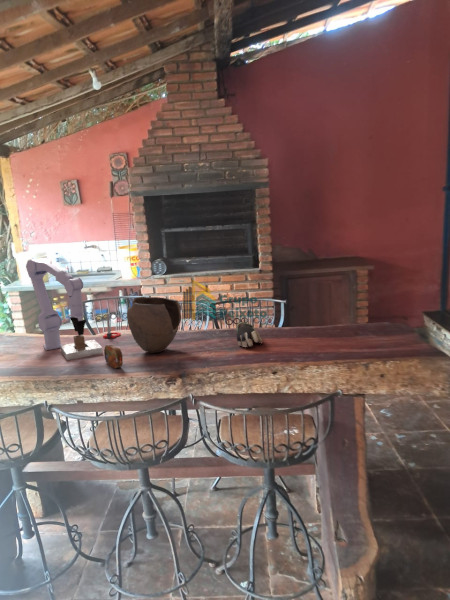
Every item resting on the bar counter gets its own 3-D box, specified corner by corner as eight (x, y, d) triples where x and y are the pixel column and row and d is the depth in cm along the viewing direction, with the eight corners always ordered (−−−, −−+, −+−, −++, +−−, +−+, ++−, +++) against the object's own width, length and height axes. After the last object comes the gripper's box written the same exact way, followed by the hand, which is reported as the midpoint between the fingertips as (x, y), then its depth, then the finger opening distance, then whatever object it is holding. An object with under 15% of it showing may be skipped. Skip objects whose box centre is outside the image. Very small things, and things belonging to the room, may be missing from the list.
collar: (61, 351, 216) (60, 345, 215) (94, 345, 223) (94, 339, 222) (67, 360, 202) (66, 353, 201) (102, 353, 209) (102, 347, 209)
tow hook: (108, 334, 244) (101, 338, 235) (106, 310, 242) (99, 314, 233) (123, 334, 243) (116, 338, 234) (121, 310, 241) (114, 314, 232)
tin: (104, 362, 197) (102, 343, 195) (111, 360, 199) (109, 342, 197) (117, 371, 185) (115, 351, 183) (124, 369, 187) (123, 349, 185)
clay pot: (120, 353, 208) (115, 300, 203) (161, 341, 225) (157, 291, 220) (153, 363, 191) (148, 306, 187) (194, 349, 209) (190, 296, 204)
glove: (234, 341, 228) (237, 349, 203) (234, 321, 227) (238, 327, 202) (258, 341, 228) (264, 350, 203) (258, 321, 228) (265, 327, 203)
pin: (75, 352, 213) (73, 336, 211) (84, 350, 215) (82, 334, 213) (77, 354, 209) (75, 338, 208) (85, 352, 211) (84, 336, 210)
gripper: (64, 303, 212) (67, 331, 215) (69, 308, 200) (73, 337, 202) (79, 301, 215) (82, 328, 218) (86, 306, 203) (89, 335, 206)
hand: (79, 332), depth 210 cm, fingers open, 7 cm apart
